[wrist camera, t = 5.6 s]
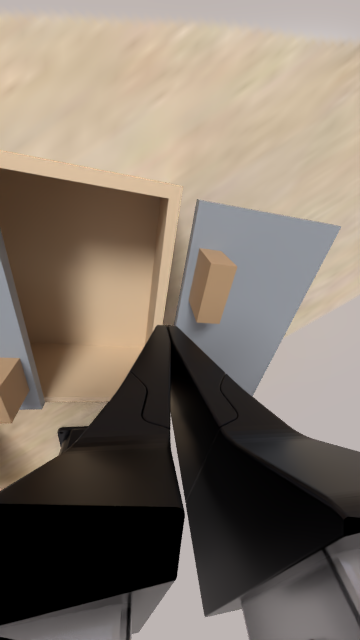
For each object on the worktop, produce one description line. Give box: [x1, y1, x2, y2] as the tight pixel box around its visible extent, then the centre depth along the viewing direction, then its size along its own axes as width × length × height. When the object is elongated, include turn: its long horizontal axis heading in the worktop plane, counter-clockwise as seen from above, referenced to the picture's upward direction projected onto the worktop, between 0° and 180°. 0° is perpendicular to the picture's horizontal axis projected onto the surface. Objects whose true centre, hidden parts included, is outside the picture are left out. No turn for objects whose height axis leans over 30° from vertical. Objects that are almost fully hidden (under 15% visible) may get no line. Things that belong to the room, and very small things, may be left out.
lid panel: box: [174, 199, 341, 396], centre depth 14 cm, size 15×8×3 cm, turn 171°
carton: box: [0, 150, 183, 402], centre depth 16 cm, size 16×16×7 cm
